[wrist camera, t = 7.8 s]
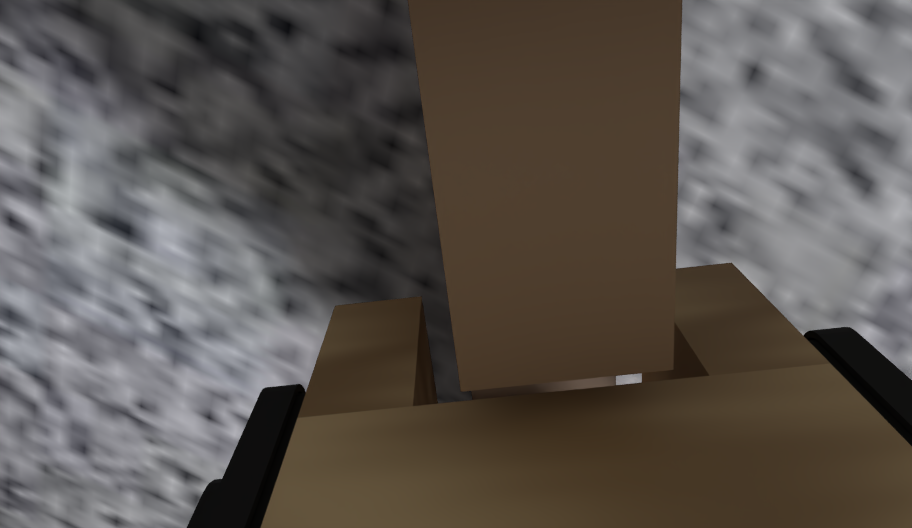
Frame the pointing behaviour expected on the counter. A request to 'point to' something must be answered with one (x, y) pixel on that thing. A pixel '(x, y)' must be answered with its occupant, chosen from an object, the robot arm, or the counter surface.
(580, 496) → the wooden u-shaped arch
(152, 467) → the counter surface
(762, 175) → the counter surface
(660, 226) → the notched wooden beam
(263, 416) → the robot arm
